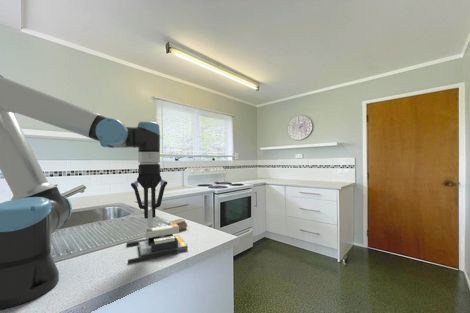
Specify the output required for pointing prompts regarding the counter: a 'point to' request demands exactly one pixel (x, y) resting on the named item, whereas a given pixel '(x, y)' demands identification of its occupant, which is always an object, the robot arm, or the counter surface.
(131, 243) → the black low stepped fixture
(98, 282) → the counter surface
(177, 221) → the stone
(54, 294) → the counter surface
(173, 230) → the breaker lever
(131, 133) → the robot arm
